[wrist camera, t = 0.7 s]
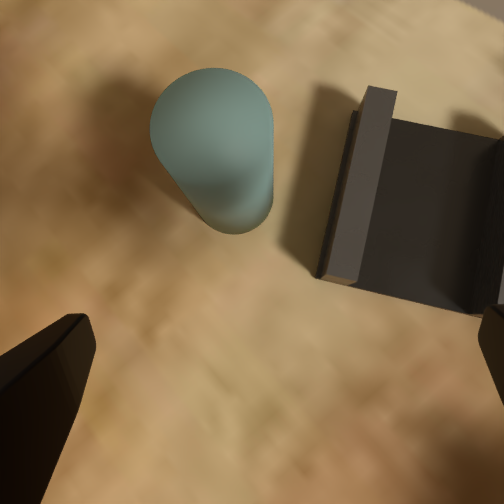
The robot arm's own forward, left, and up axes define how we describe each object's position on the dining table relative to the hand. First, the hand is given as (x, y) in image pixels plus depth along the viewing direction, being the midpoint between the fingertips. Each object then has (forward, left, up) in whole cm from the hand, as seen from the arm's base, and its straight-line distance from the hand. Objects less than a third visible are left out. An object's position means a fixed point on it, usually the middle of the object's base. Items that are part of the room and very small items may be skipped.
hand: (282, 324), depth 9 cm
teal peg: (+2, +7, -13) cm, 15 cm away
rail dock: (+10, 0, -13) cm, 17 cm away
